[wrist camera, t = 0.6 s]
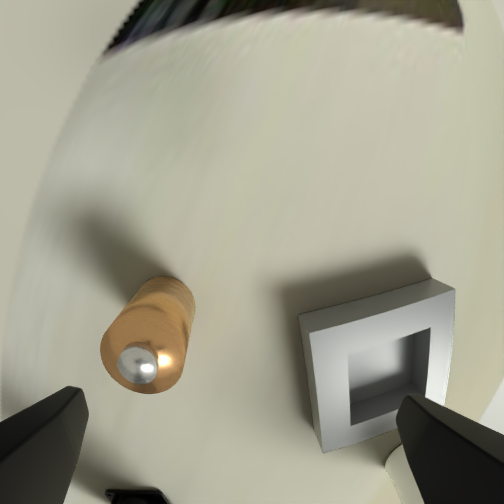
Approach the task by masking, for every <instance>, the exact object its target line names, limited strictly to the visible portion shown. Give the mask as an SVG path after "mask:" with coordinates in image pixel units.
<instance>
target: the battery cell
mask: <svg viewBox="0 0 504 504" xmlns="http://www.w3.org/2000/svg"><path fill="white" fill-rule="evenodd" d="M194 313H195V302H194V298H193V295H192V293H191V292H190V290H189V289H188V288H187V286H185V285H184V284H183V283H182V282H180V281H179V280H177V279H174V278H171V277H166V276H160V277H155V278H152V279H150V280H148V281H147V282H145V283H144V284H143V285H142V286H141V288H140V289H139V290H138V291H137V293H136V294H135V295H134V296H133V298H132V299H131V300H130V301H129V303H128V304H127V305H126V306H125V308H124V309H123V310H122V311H121V313H120V314H119V315H118V317H117V318H116V319H115V320H114V322H113V323H112V324H111V326H110V327H109V328H108V330H107V331H106V332H105V334H104V335H103V338H102V341H101V346H100V353H101V359H102V362H103V364H104V366H105V368H106V370H107V371H108V373H109V374H110V375H111V377H112V378H113V379H114V380H115V381H117V382H118V383H119V384H120V385H122V386H123V387H125V388H127V389H129V390H132V391H134V392H138V393H143V394H155V393H160V392H163V391H166V390H168V389H169V388H171V387H172V386H173V385H175V384H176V382H177V381H178V380H179V378H180V377H181V374H182V371H183V367H184V362H185V357H186V352H187V347H188V342H189V337H190V332H191V327H192V322H193V317H194Z"/></svg>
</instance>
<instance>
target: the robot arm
mask: <svg viewBox="0 0 504 504" xmlns="http://www.w3.org/2000/svg"><path fill="white" fill-rule="evenodd" d="M88 417H89V411H88V407H87V403H86V400H85V396H84V392H83V390H82V389H81V388H78V387H73V386H67V387H65V388H63V389H61V390H59V391H58V392H56V393H54V394H52V395H50V396H48V397H46V398H45V399H43V400H41V401H39V402H37V403H35V404H34V405H32V406H30V407H28V408H26V409H24V410H22V411H20V412H19V413H17V414H15V415H13V416H11V417H9V418H7V419H5V420H3V421H1V422H0V504H63V503H64V500H65V497H66V494H67V491H68V488H69V485H70V482H71V479H72V476H73V473H74V471H75V468H76V465H77V462H78V458H79V454H80V450H81V446H82V441H83V437H84V433H85V429H86V425H87V421H88ZM396 425H397V428H398V431H399V435H400V438H401V441H402V445H403V448H404V452H405V455H406V458H407V462H408V464H409V467H410V469H411V472H412V474H413V477H414V479H415V482H416V484H417V487H418V489H419V492H420V494H421V497H422V499H423V502H424V504H504V435H503V434H501V433H499V432H496V431H494V430H492V429H490V428H488V427H485V426H483V425H481V424H479V423H477V422H475V421H473V420H471V419H469V418H467V417H465V416H462V415H460V414H458V413H456V412H454V411H452V410H450V409H448V408H446V407H444V406H442V405H440V404H438V403H436V402H434V401H432V400H430V399H428V398H426V397H424V396H422V395H420V394H418V393H414V394H408V395H406V396H404V398H403V400H402V402H401V405H400V407H399V410H398V412H397V415H396ZM105 495H106V496H107V498H108V499H109V500H110V501H111V504H170V503H169V502H168V500H167V499H166V497H165V496H164V495H163V493H162V492H160V491H123V490H106V491H105Z"/></svg>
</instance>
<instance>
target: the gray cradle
mask: <svg viewBox="0 0 504 504" xmlns="http://www.w3.org/2000/svg"><path fill="white" fill-rule="evenodd" d="M454 316H455V288H452V287H450V286H448V285H446V284H444V283H442V282H440V281H437V280H435V279H433V278H431V279H428V280H425V281H422V282H419V283H415V284H412V285H409V286H405V287H402V288H398V289H395V290H392V291H388V292H384V293H381V294H377V295H374V296H370V297H367V298H363V299H359V300H355V301H352V302H348V303H344V304H340V305H336V306H332V307H328V308H324V309H320V310H316V311H312V312H308V313H304V314H299V315H298V318H299V324H300V331H301V338H302V344H303V351H304V358H305V365H306V372H307V380H308V387H309V395H310V402H311V410H312V418H313V426H314V431H315V434H316V436H317V439H318V442H319V444H320V447H321V449H322V452H323V453H326V452H330V451H333V450H337V449H340V448H343V447H346V446H350V445H353V444H356V443H359V442H362V441H365V440H368V439H370V438H373V437H376V436H379V435H381V434H384V433H387V432H389V431H392V430H394V429H397V425H396V415H397V412H398V410H399V407H400V405H401V402H402V400H403V398H404V396H406V395H408V394H414V393H418V394H420V395H422V396H424V397H426V398H428V399H430V400H432V401H434V402H436V403H438V404H440V405H442V406H444V403H445V397H446V391H447V385H448V378H449V370H450V362H451V353H452V343H453V331H454Z"/></svg>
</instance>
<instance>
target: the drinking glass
mask: <svg viewBox="0 0 504 504" xmlns="http://www.w3.org/2000/svg"><path fill="white" fill-rule="evenodd" d="M385 469H386V472H387V474H388V475H389V477H390V479H391V481H392V483H393V485H394V487H395V490H396V492H397V494H398V496H399V499H400V501H401V503H402V504H424V502H423V499H422V497H421V494H420V492H419V489H418V487H417V484H416V482H415V479H414V477H413V474H412V472H411V469H410V467H409V464H408V462H407V458H406V455H405V452H404V448H403V445H400V446H399V447H397V448H396V449H395V450H394V451H393V452H392V453H391V454H390V456H389V457H388V459H387V461H386V464H385Z"/></svg>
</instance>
